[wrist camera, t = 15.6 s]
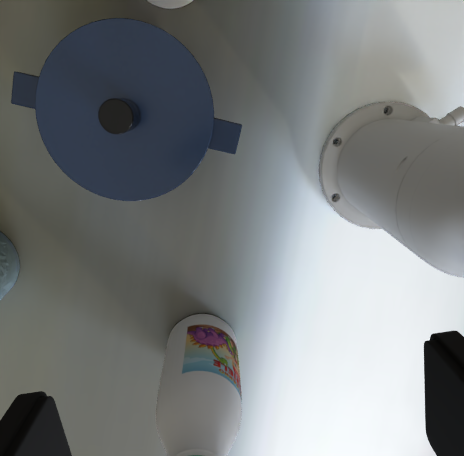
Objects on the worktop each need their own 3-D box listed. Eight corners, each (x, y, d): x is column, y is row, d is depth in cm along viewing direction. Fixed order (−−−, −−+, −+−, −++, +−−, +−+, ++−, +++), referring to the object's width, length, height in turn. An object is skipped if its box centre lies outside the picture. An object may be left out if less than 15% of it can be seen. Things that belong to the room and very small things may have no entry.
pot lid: (50, -1, 31) (24, -16, 27) (230, 45, 33) (233, 37, 28) (32, 178, 35) (6, 189, 31) (195, 213, 36) (192, 228, 32)
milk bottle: (198, 383, 50) (188, 558, 31) (153, 338, 48) (114, 495, 29) (250, 346, 49) (273, 503, 30) (206, 298, 47) (202, 434, 28)
